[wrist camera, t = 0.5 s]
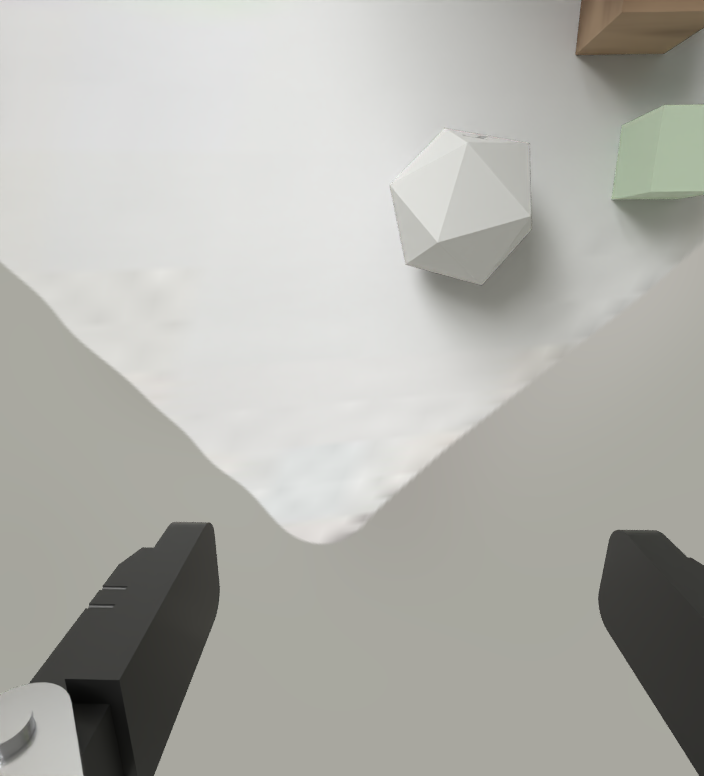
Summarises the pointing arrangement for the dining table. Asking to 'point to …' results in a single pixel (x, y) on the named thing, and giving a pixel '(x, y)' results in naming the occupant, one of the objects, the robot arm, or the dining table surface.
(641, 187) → the green block
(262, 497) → the dining table surface
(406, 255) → the die
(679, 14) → the walnut block
